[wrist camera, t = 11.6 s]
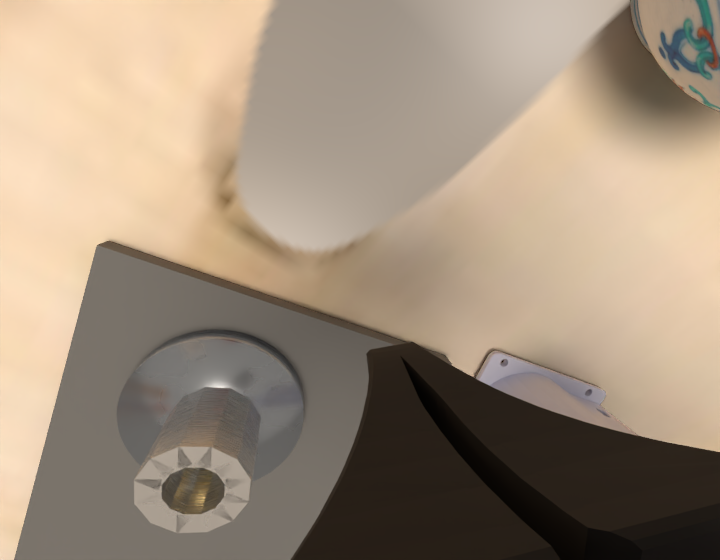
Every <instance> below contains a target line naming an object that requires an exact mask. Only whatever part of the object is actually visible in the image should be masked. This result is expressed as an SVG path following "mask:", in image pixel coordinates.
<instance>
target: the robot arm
mask: <svg viewBox="0 0 720 560" xmlns="http://www.w3.org/2000/svg"><path fill="white" fill-rule="evenodd" d="M366 356H367V364H368V373H369V382H368V390H367V396H366V401H365V405H364V410H363V414H362V418H361V421H360V425H359V428H358V431H357V434H356V437H355V440H354V443H353V446H352V448H351V451H350V453H349V455H348V458H347V460H346V463H345V465H344V467H343V470H342V472H341V474H340V476H339V478H338V480H337V482H336V484H335V486H334V488H333V490H332V492H331V493H330V495H329V497H328V499H327V501H326V503H325V505H324V507H323V508H322V510H321V512H320V514H319V516H318V517H317V519H316V521H315V523H314V524H313V526H312V527H311V529H310V530H309V532H308V534H307V535H306V537H305V538H304V540H303V541H302V543H301V544H300V546H299V547H298V549H297V550H296V552H295V554H294V555H293V557H292V558H291V560H720V452H715V451H710V450H705V449H699V448H694V447H689V446H683V445H678V444H672V443H667V442H662V441H658V440H653V439H649V438H645V437H641V436H638V435H637V434H636V433H634V432H633V431H632V430H631V429H629V428H628V427H627V426H626V425H624V424H623V423H622V422H620V421H619V420H618V419H617V418H615V417H614V416H613V415H612V414H610V413H609V412H608V411H607V410H605V409H604V408H603V407H601V406H600V404H601V403H602V401H603V400H604V398H605V396H606V393H605V391H604V390H603V389H601V388H600V387H597V386H594V385H592V384H589V383H586V382H583V381H580V380H578V379H575V378H572V377H569V376H567V375H564V374H561V373H558V372H556V371H553V370H550V369H547V368H544V367H542V366H539V365H536V364H533V363H531V362H528V361H525V360H522V359H520V358H517V357H514V356H511V355H508V354H506V353H503V352H500V351H493V352H491V353H490V354H489V355H488V357H487V359H486V360H485V362H484V364H483V366H482V368H481V369H480V371H479V373H478V375H477V377H476V378H473V377H471V376H470V375H468V374H466V373H464V372H462V371H460V370H459V369H457V368H455V367H453V366H452V365H450V364H448V363H447V362H445V361H443V360H441V359H440V358H438V357H437V356H435V355H433V354H432V353H430V352H428V351H427V350H425V349H423V348H422V347H420V346H418V345H417V344H415V343H413V342H410V343H404V344H398V345H393V346H387V347H381V348H376V349H370V350H369V351H368V352H367V354H366ZM503 359H505V360H504V362H503V363H501V361H502V360H503Z"/></svg>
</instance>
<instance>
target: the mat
mask: <svg viewBox="0 0 720 560" xmlns="http://www.w3.org/2000/svg"><path fill="white" fill-rule="evenodd" d="M210 329H216V330H230V331H237V332H241V333H245V334H248V335H251V336H254V337H256V338H259V339H261V340H263V341H264V342H266V343H268V344H270V345H271V346H273V347H274V348H275V349H277V350H278V351H279V352H280V353H281V354H282V355H284V356H285V357H286V359H287V360H288V361H289V362H290V363H291V365H292V366H293V368H294V369H295V371H296V373H297V375H298V377H299V380H300V382H301V386H302V390H303V399H304V416H303V426H302V431H301V434H300V436H299V439H298V441H297V443H296V445H295V447H294V449H293V450H292V451H291V453H290V454H289V456H288V457H287V458H286V459H285V460H284V461H283V462H282V463H281V464H280V465H279V466H278V467H276V468H275V469H274V470H273V471H271V472H270V473H268V474H267V475H265V476H263V477H261V478H259V479H257V480H255V481H253V482H252V486H251V492H250V499H249V503H247V504H246V506H245V507H244V508H243V509H242V510H241V512H240V513H239V514H238V515H237V516H236V518H235V519H234V520H233V521H231V522H229V523H227V524H224V525H222V526H220V527H218V528H215V529H213V530H211V531H208V532H196V533H176V532H173V531H170V530H168V529H165V528H162V527H160V526H157V525H155V524H152V523H150V522H149V521H148V519H147V518H146V517H145V516H144V515H143V513H142V512H141V511H140V510H139V509H138V507H137V506H136V505H135V504H134V478H135V477H136V475H137V473H138V471H139V469H140V467H141V465H139V464H138V463H137V462H136V460H135V459H134V458H133V457H132V456H131V455H130V453H129V452H128V450H127V449H126V447H125V445H124V443H123V441H122V439H121V437H120V434H119V430H118V425H117V406H118V401H119V397H120V394H121V392H122V389H123V387H124V386H125V384H126V382H127V381H128V379H129V377H130V376H131V375H132V374H133V373H134V371H135V370H136V369H137V368H138V367H139V365H140V364H141V363H142V362H143V361H144V359H145V358H146V357H147V356H148V355H149V354H150V353H151V352H153V351H154V350H155V349H156V348H158V347H159V346H161V345H162V344H164V343H165V342H167V341H169V340H171V339H173V338H175V337H178V336H181V335H184V334H186V333H191V332H195V331H201V330H210ZM404 343H407V342H404V341H401V340H398V339H395V338H392V337H389V336H386V335H383V334H380V333H377V332H374V331H372V330H369V329H366V328H363V327H360V326H357V325H354V324H351V323H348V322H345V321H342V320H339V319H336V318H333V317H330V316H327V315H325V314H322V313H319V312H316V311H313V310H310V309H307V308H304V307H301V306H298V305H295V304H292V303H289V302H286V301H283V300H281V299H278V298H275V297H272V296H269V295H266V294H263V293H260V292H257V291H254V290H251V289H248V288H245V287H242V286H239V285H236V284H234V283H231V282H228V281H225V280H222V279H219V278H216V277H213V276H210V275H207V274H204V273H201V272H198V271H195V270H192V269H190V268H187V267H184V266H181V265H178V264H175V263H172V262H169V261H166V260H163V259H160V258H157V257H154V256H151V255H148V254H145V253H143V252H140V251H137V250H134V249H131V248H128V247H125V246H122V245H119V244H116V243H113V242H110V241H107V242H104V243H101V244H99V245H97V247H96V251H95V255H94V258H93V262H92V266H91V270H90V274H89V277H88V281H87V285H86V289H85V293H84V296H83V300H82V304H81V308H80V312H79V315H78V319H77V323H76V327H75V331H74V334H73V338H72V342H71V346H70V350H69V353H68V357H67V361H66V365H65V369H64V372H63V376H62V380H61V384H60V388H59V391H58V395H57V399H56V403H55V407H54V410H53V414H52V418H51V422H50V426H49V429H48V433H47V437H46V441H45V445H44V448H43V452H42V456H41V460H40V464H39V467H38V471H37V475H36V479H35V483H34V486H33V490H32V494H31V498H30V502H29V505H28V509H27V513H26V517H25V521H24V524H23V528H22V532H21V536H20V539H19V543H18V547H17V551H16V555H15V558H14V560H291V558H292V557H293V555H294V554H295V552H296V550H297V549H298V547H299V546H300V544H301V543H302V541H303V540H304V538H305V537H306V535H307V534H308V532H309V530H310V529H311V527H312V526H313V524H314V523H315V521H316V519H317V517H318V516H319V514H320V512H321V510H322V508H323V507H324V505H325V503H326V501H327V499H328V497H329V495H330V493H331V492H332V490H333V488H334V486H335V484H336V482H337V480H338V478H339V476H340V474H341V472H342V470H343V467H344V465H345V463H346V460H347V458H348V455H349V453H350V451H351V448H352V446H353V443H354V440H355V437H356V434H357V431H358V428H359V425H360V421H361V418H362V414H363V410H364V405H365V401H366V396H367V390H368V382H369V373H368V364H367V356H366V354H367V352H368V351H369V350H370V349H376V348H381V347H387V346H393V345H398V344H404ZM423 349H424V348H423ZM425 350H427V349H425ZM427 351H428V352H430V353H432V354H433V355H435V356H437V357H438V358H440V359H441V360H443V361H445V362H447V363H448V364H450V365H451V362H450V361H449V360H448V359H447V357H446V356H445V355H442V354H439V353H436V352H433V351H430V350H427Z"/></svg>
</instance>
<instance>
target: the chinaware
mask: <svg viewBox="0 0 720 560" xmlns="http://www.w3.org/2000/svg"><path fill="white" fill-rule="evenodd" d="M630 7H631V16H632V21H633V25H634V28H635V31H636V33H637V35H638V37H639V39H640V41H641V42H642V44H643V45H644V46H645V48H646V49H647V50H648V51H649V52H650V53H652V54H653V56H654V58H655V59H656V61H657V63H658V64H659V66H660V67H661V68H662V70H663V71H664V72H665V73H666V75H667V76H668V77H669V78H670V79H671V80H672V81H673V82H674V83H675V84H676V85H677V86H678V87H679V88H680V89H682V90H683V91H684V92H685V93H687V94H688V95H689V96H691V97H692V98H694V99H695V100H697V101H699V102H700V103H702V104H704V105H706V106H708V107H710V108H712V109H714V110H717V111H719V112H720V0H630Z"/></svg>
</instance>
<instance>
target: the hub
mask: <svg viewBox="0 0 720 560" xmlns="http://www.w3.org/2000/svg"><path fill="white" fill-rule="evenodd" d="M204 387H215V388H231V389H233V390H235V391H237V392H238V393H240V394H242V395H244V396H246V397H248V398H249V399H251V401H252V402H253V404H254V406H255V407H256V409H257V411H258V412H259V414H260V416H261V422H260V432H259V442H258V448H257V454H256V461H255V467H254V473H253V480H252V482H253V481H255V480H257V479H259V478H261V477H263V476H265V475H267V474H268V473H270V472H271V471H273V470H274V469H275V468H276V467H278V466H279V465H280V464H281V463H282V462H283V461H284V460H285V459H286V458H287V457H288V456H289V454H290V453H291V451H292V450H293V449H294V447H295V445H296V443H297V441H298V439H299V436H300V434H301V431H302V426H303V416H304V399H303V390H302V386H301V382H300V380H299V377H298V375H297V373H296V371H295V369H294V368H293V366H292V365H291V363H290V362H289V361H288V360H287V359H286V357H285V356H284V355H282V354H281V353H280V352H279V351H278V350H277V349H275V348H274V347H273V346H271V345H270V344H268V343H266V342H264V341H263V340H261V339H259V338H256V337H254V336H251V335H248V334H245V333H241V332H237V331H230V330H216V329H210V330H201V331H195V332H191V333H186V334H184V335H181V336H178V337H175V338H173V339H171V340H169V341H167V342H165V343H164V344H162V345H161V346H159V347H158V348H156V349H155V350H154V351H153V352H151V353H150V354H149V355H148V356H147V357H146V358H145V359H144V361H143V362H142V363H141V364H140V365H139V367H138V368H137V369H136V370H135V371H134V373H133V374H132V375H131V376H130V377H129V379H128V381H127V382H126V384H125V386H124V387H123V389H122V392H121V394H120V397H119V401H118V406H117V425H118V430H119V434H120V437H121V439H122V441H123V443H124V445H125V447H126V449H127V450H128V452H129V453H130V455H131V456H132V457H133V458H134V459H135V460H136V462H137V463H138V464H139V465H142V464H143V462H144V460H145V458H146V456H147V454H148V452H149V451H150V449H151V447H152V445H153V443H154V441H155V440H156V438H157V436H158V434H159V432H160V430H161V428H162V427H163V425H164V423H165V421H166V419H167V417H168V416H169V414H170V413H171V411H172V410H173V409H174V408H175V406H176V405H177V404H178V402H179V401H180V400H181V398H182V397H183V396H185V395H188V394H190V393H192V392H195V391H197V390H200V389H202V388H204Z"/></svg>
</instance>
